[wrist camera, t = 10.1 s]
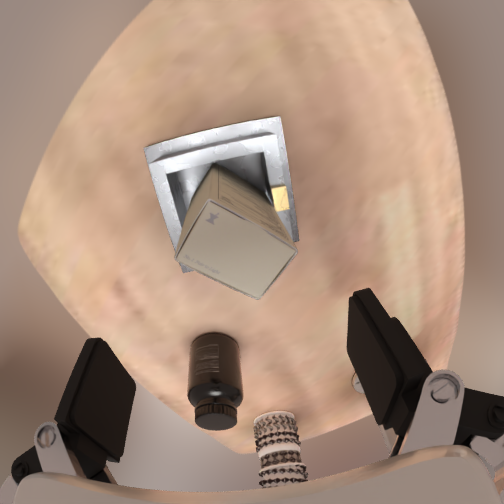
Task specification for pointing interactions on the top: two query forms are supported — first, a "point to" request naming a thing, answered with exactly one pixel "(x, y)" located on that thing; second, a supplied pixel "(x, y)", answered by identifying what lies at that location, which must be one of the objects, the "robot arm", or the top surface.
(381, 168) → the top surface
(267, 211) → the skincare box
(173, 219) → the socket
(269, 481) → the decorative candle
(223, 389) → the supplement bottle
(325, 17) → the top surface
